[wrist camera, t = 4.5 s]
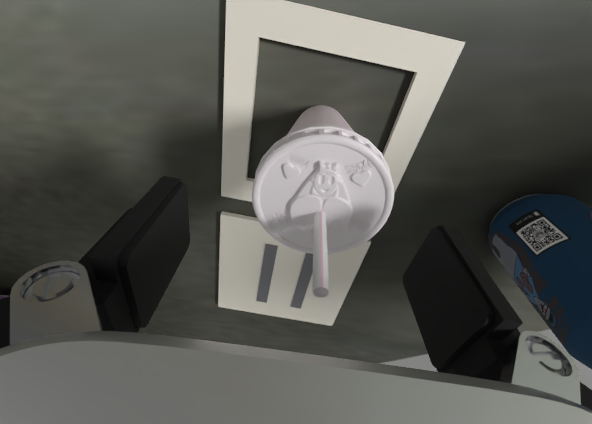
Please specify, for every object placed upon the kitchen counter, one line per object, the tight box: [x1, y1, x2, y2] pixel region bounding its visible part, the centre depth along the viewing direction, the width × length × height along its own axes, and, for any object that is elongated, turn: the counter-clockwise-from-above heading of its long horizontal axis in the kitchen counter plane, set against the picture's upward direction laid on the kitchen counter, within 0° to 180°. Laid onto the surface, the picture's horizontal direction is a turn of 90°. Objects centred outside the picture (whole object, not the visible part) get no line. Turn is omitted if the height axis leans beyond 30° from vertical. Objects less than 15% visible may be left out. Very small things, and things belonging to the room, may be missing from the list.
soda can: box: [488, 194, 592, 369], centre depth 18 cm, size 7×7×12 cm
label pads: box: [218, 0, 465, 326], centre depth 24 cm, size 14×30×1 cm, turn 170°
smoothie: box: [252, 105, 394, 298], centre depth 14 cm, size 6×6×14 cm
